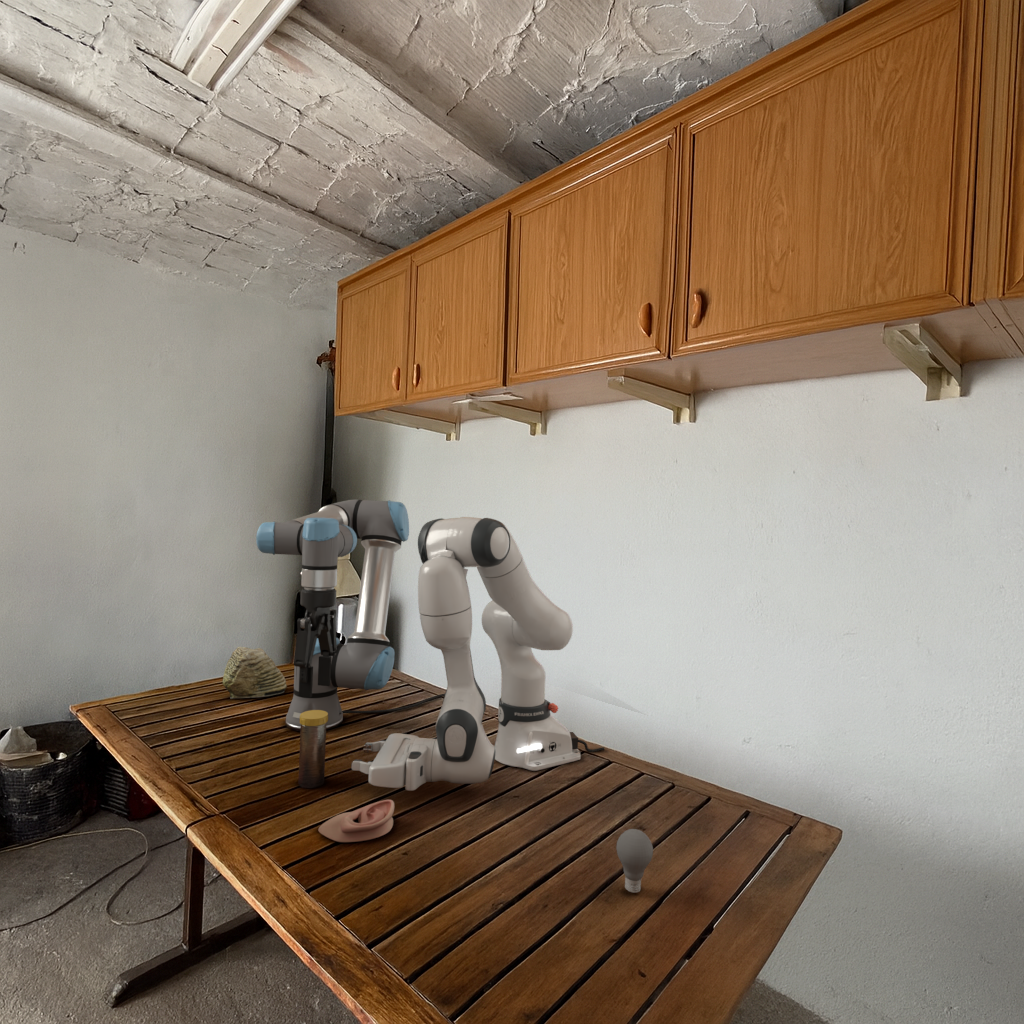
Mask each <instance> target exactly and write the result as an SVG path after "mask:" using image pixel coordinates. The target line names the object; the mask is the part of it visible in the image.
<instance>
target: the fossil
mask: <svg viewBox="0 0 1024 1024" xmlns="http://www.w3.org/2000/svg"><path fill="white" fill-rule="evenodd" d="M222 676H223V677H222V685H223V687H224V688H225V690H226V691H228V693H229V698H230V699H250V698H264V697H271V696H275V695H281V694H284V693H285V691H286V689H287V687H288V686H287V680H286V678H285V676H284V674H283V673H282V672H281V669H279V668H278V667H277V665H276V663H275V662H274V660H273V659H272V658H271V657H270V656H269V655H268V654H267V653H266V652H265V650H264V649H263V648H260V647H258V648H251V647H247V646H246V647H245V646H238V647H237V648H236V649H235V650H233V651H232V653H231V656H230V657H229V659H228V660H227V663H226V666H225V668H224V671H223V675H222Z"/></svg>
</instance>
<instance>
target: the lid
mask: <svg viewBox="0 0 1024 1024" xmlns="http://www.w3.org/2000/svg"><path fill="white" fill-rule="evenodd" d="M299 721H300V724H302V725H305V726H318V725H322V724H325V723H326V722H327V721H328V713H327V712H326V711H322V710H310V711H305V712H303V713H301V714H300V720H299Z"/></svg>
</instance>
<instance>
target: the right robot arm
mask: <svg viewBox="0 0 1024 1024" xmlns="http://www.w3.org/2000/svg"><path fill="white" fill-rule="evenodd" d="M417 549H418V550H417V551H418V554H419V558H420V561H421V563H422V565H421V566H420V567H419V571H418V577H417V578H418V580H417V602H418V613H419V621H420V626H421V630H422V633H423V636H424V638H425V641H426V642H427V643H428V644H429V646H431V647H433V648H435V649H437V650H440V651H441V653H442V654H441V655H442V657H443V663H444V664H443V665H444V670H445V676H446V681H447V686H446V690H445V692H444V694H445V695H444V696H443V699H442V705H441V708H440V710H439V712H438V716H437V719H436V721H435V734H436V738H428V737H426V738H425V737H419V736H418V735H414V734H407V733H399V732H398V733H397V732H396V733H390V734H389V735H388V737H386V739H385V740H379V741H374V742H366V743H364V745H363V753H366V754H367V753H368V754H372V753H374V752H377V754H376V756H375V757H374V759H373V761H368V762H366V761H363V759H358V758H357V759H356V758H355V759H354V760H353V761H352V762H351V770H352V771H359V772H361V773H363V774H365V775H368V781H367V782H368V784H369V785H372V786H374V787H380V788H389V789H390V788H391V789H400V788H403V787H404V789H405V790H406V791H410V792H412V791H416V790H417V789H418V788H419V787H420V786H422V785H424V784H426V783H436V782H441V781H443V782H448V783H451V784H461V785H462V784H463V785H469V784H481V783H485V782H487V781H489V779H490V778H491V776H492V773H493V770H494V765H495V761H497V762H498V763H500V764H503V765H506V766H510V767H517V768H522V769H526V770H528V771H533V772H536V771H540V770H545V769H549V768H552V767H556V766H557V767H558V766H561V765H564V764H569V763H573V762H576V761H580V760H581V758H582V756H581V751H580V749H579V744H582V745H583V746H584V749H585V751H587V752H588V753H597V752H601V751H605V747H597V748H594V749H590V748H589V747H588V744H587V742H586V741H584V740H582V739H579V737H578V736H577V735H576V733H574V731H570V730H569V729H568V728H567V727H566V726H565V725H564V724H563V723H562V722H560V720H559V719H557V718H556V717H554V716H553V715H552V714H557V713H558V711H559V705H556V703H554V702H550V701H549V700H547V699H546V677H547V676H546V675H547V674H546V670H545V667H544V666H543V664H541V662H540V661H538V659H537V658H536V656H535V655H534V652H533V650H532V649H535V650H540V651H561V650H563V649H564V648H565V647H567V645H568V644H569V643H570V642H571V639H572V637H573V633H574V625H573V620H572V618H571V615H570V614H569V613H568V612H567V611H565V610H563V609H562V608H560V607H559V606H558V605H556V604H555V603H554V602H553V601H552V600H551V599H550V598H549V597H548V596H547V595H546V594H545V593H544V592H543V591H542V590H541V589H540V587H539V586H538V584H537V583H536V582H535V580H534V579H533V577H532V576H531V573H530V570H529V569H528V568H529V567H528V566H527V564H526V561H525V559H524V557H523V554H522V552H521V550H520V546H519V545H518V543H517V542H516V539H515V538H514V536H513V535H512V533H511V532H510V530H509V529H508V527H507V526H506V525H505V523H503V522H501V521H499V520H497V519H495V518H491V517H490V518H489V517H484V518H481V517H475V516H473V517H471V516H460V517H451V518H442V517H441V518H435V519H432V520H429V521H427V522H425V523H424V524H423V525H422V526H421V529H420V531H419V534H418V536H417ZM468 568H476V569H477V571H478V572H477V573H478V575H479V577H480V579H481V580H482V582H483V585H484V587H485V589H486V591H487V594H488V596H489V598H490V599H491V600H490V601H489V602H488V603H487V604H486V605H485V606H484V609H483V611H482V614H481V626H482V630H483V631H484V633H485V634H486V635H487V636H488V637H489V639H490V640H491V642H492V643H493V645H494V648H495V650H496V654H497V656H498V660H499V665H500V674H501V675H500V677H501V679H500V681H501V682H500V698H499V699H498V707H497V708H498V709H497V710H498V711H497V721H498V727H497V732H496V738H495V742H494V744H492V742H491V741H490V739H489V738H488V736H487V734H486V733H487V732H486V730H485V729H484V725H483V723H482V722H483V718H484V715H485V712H486V708H487V701H486V697H485V695H484V692H483V691H482V689H481V688H480V686H479V684H478V682H477V680H476V677H475V673H474V665H473V659H472V652H471V641H472V632H473V608H472V601H471V594H470V588H469V585H468V581H467V576H468V575H467V574H468V571H469V569H468ZM551 713H552V714H551Z"/></svg>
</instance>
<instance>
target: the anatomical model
mask: <svg viewBox="0 0 1024 1024" xmlns="http://www.w3.org/2000/svg"><path fill="white" fill-rule="evenodd" d="M394 812H395V801H394V800H392V799H384V800H380V801H377V802H373V803H370V804H368V805H365V806H363V807H360V808H357V809H355V810H353V811H348V812H343V813H340V814H337V815H334V816H333V817H331V818H330V819H328V820H326V821H325V822H323V823H322V824H321V825H320V826H319V827H318V829H317V830H318V832H319V834H321V835H322V836H324V837H325V838H328V839H330V840H332V841H334V842H337V843H355V842H363V841H370V840H374V839H376V838H380V837H382V836H384V835H386V834H388V833H389V832H390V831H391V830H392V828H393V826H394V818H393V815H394Z"/></svg>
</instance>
